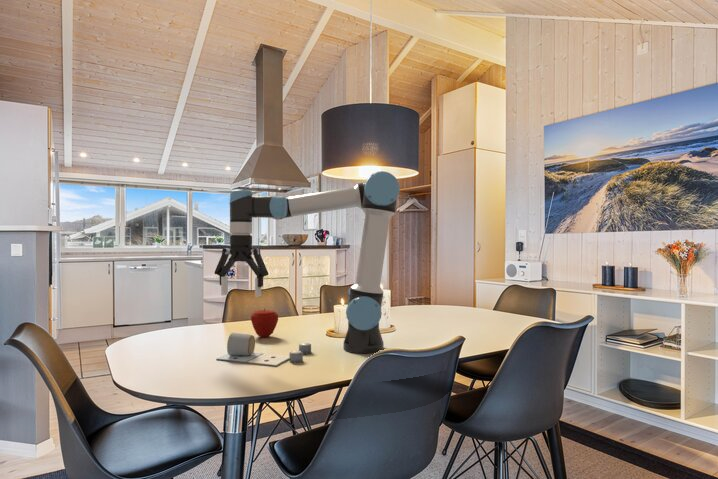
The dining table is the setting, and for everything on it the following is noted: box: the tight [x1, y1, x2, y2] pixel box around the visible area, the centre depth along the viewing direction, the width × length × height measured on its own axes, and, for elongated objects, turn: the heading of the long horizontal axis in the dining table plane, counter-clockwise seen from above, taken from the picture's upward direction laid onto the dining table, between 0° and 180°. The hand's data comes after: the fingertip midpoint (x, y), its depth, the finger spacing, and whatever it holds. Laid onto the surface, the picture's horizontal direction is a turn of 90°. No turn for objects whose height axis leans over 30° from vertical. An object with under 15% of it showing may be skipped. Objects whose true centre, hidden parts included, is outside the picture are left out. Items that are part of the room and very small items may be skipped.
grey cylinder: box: [226, 332, 256, 356], centre depth 157 cm, size 11×8×8 cm
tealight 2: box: [298, 342, 312, 355], centre depth 161 cm, size 4×4×3 cm
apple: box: [250, 308, 279, 339], centre depth 186 cm, size 11×11×12 cm
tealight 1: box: [289, 350, 304, 364], centre depth 150 cm, size 4×4×3 cm
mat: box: [216, 352, 290, 368], centre depth 152 cm, size 23×12×1 cm, turn 71°
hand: (241, 295), depth 154 cm, fingers open, 13 cm apart
